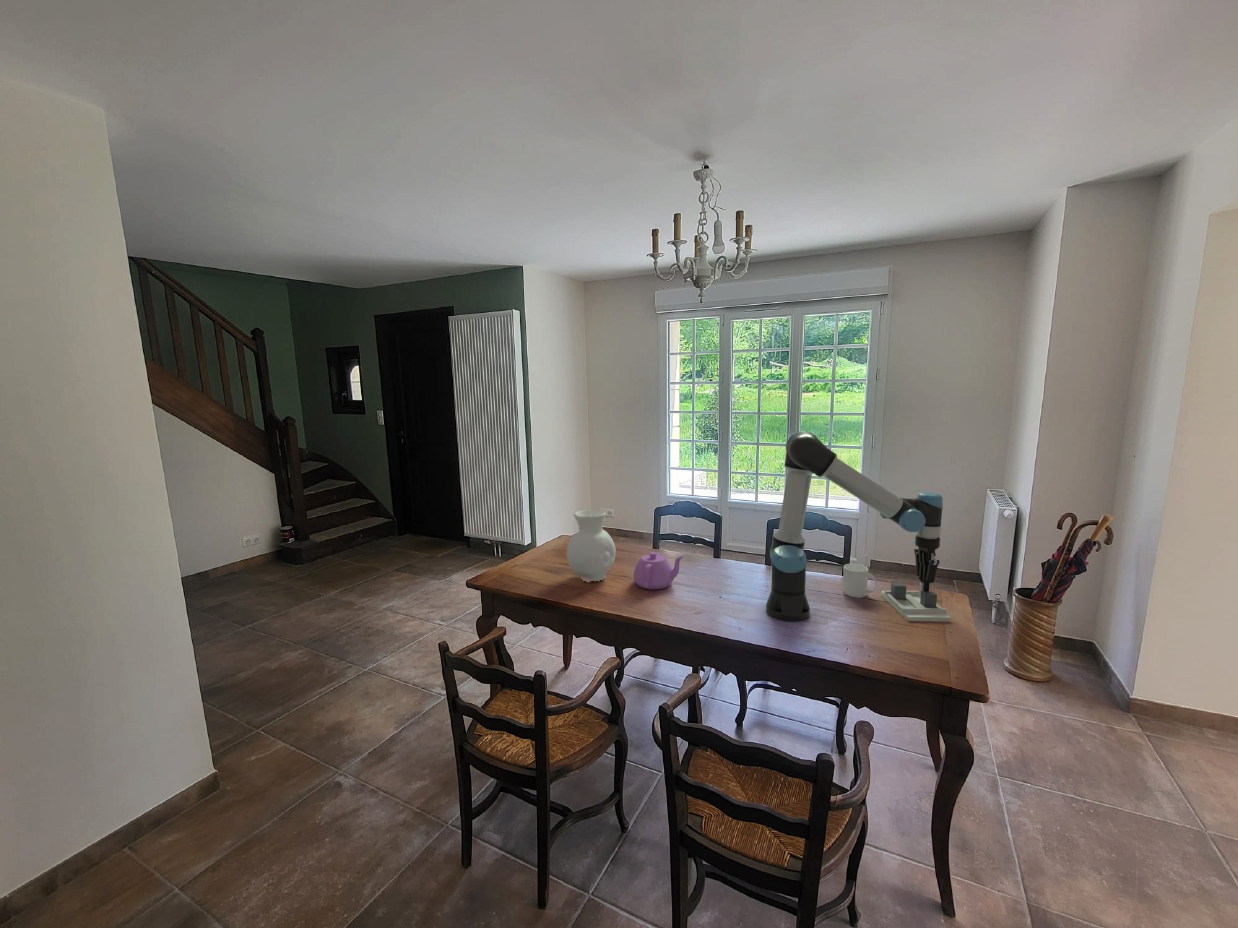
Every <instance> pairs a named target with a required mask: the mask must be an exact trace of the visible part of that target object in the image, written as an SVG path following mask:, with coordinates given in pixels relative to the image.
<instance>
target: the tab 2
mask: <svg viewBox="0 0 1238 928" xmlns="http://www.w3.org/2000/svg"><path fill="white" fill-rule="evenodd" d="M937 602H938V594H937V593H936V592H934V591H933V590H932V591H931V590H929V591H921V598H920V604H922V605H923V606H924V607H925V608H936V603H937ZM937 604H938V603H937Z"/></svg>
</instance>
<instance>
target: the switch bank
mask: <svg viewBox="0 0 1238 928" xmlns="http://www.w3.org/2000/svg"><path fill="white" fill-rule="evenodd" d="M880 595H881V596H882V598H884V599H885V601H886V602H888V603H889V604H890V605H891V606H892V607H893V608H894V609H895V611H897V612H898V613H899V614H900V615H901V616H902V617H903V618H904V619H905V620H906V621H907V622H945V623H946V622H952V617H951V616H950V615H949V614H948V613H947V608H945V607H942V606H940V605H939V604H938V603H936V608H925V607H924V606H923V605H922V604H920V598H919V590H906V599H895V598H894V597H893V596H892V595H891V590H888V589H887V590H881V591H880Z"/></svg>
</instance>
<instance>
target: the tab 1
mask: <svg viewBox="0 0 1238 928" xmlns="http://www.w3.org/2000/svg"><path fill="white" fill-rule="evenodd" d="M890 591H891V595H892V596H893V597H894V598H895V599H906V591H907V585H906V584H905V583H903V582H891V585H890Z"/></svg>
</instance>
